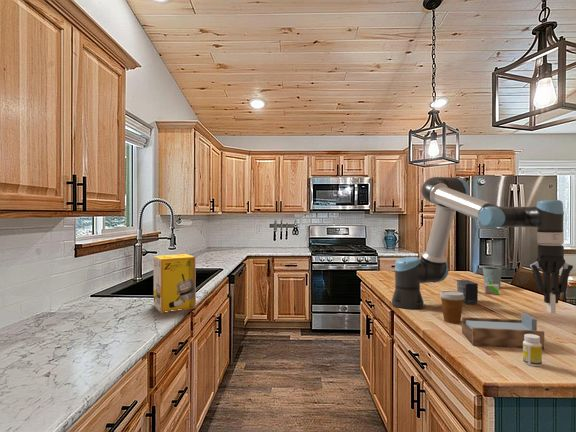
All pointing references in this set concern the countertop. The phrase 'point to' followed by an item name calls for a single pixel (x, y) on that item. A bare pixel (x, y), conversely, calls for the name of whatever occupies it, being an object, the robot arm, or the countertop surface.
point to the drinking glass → (492, 275)
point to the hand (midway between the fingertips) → (551, 312)
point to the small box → (468, 291)
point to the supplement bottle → (532, 350)
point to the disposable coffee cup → (452, 306)
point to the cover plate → (507, 324)
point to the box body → (497, 334)
